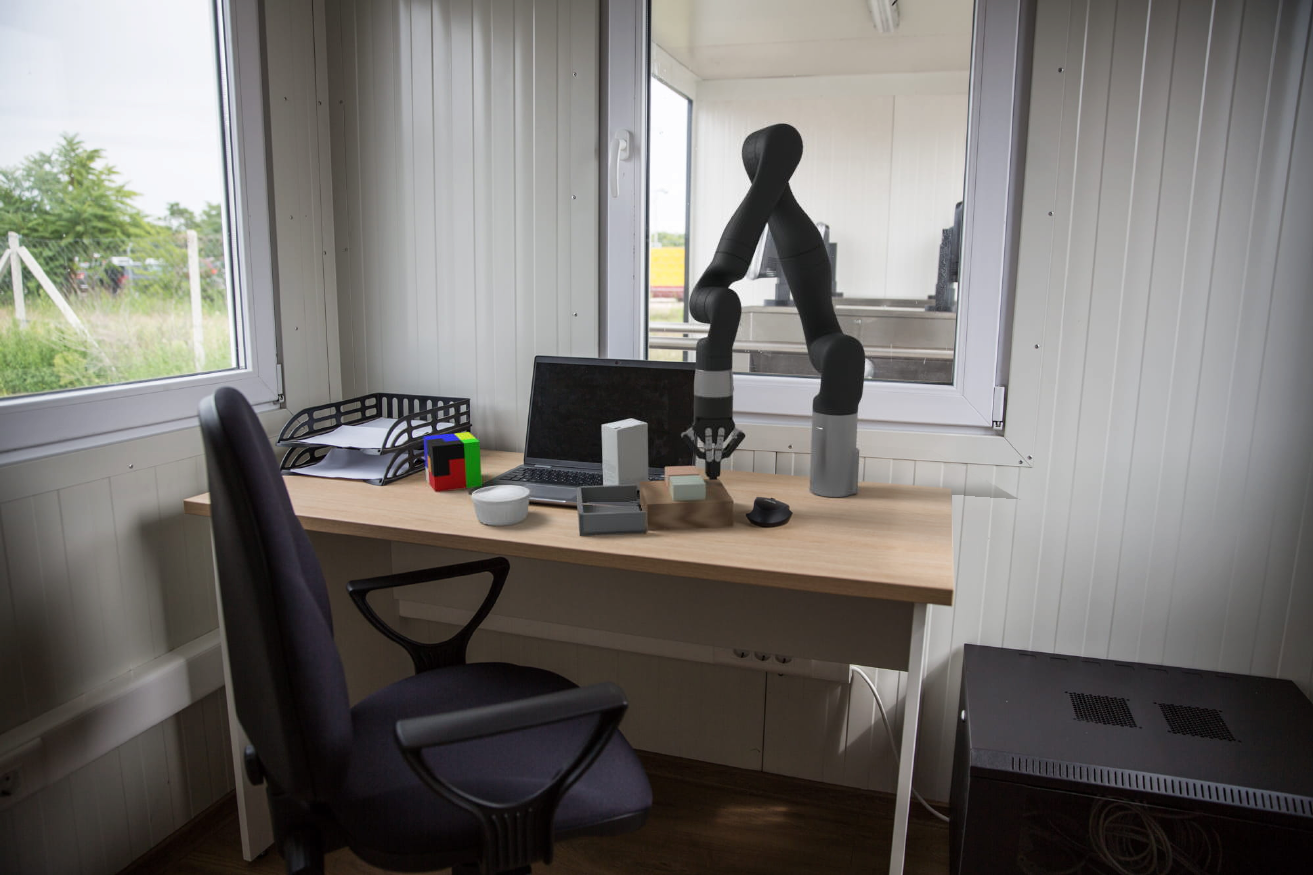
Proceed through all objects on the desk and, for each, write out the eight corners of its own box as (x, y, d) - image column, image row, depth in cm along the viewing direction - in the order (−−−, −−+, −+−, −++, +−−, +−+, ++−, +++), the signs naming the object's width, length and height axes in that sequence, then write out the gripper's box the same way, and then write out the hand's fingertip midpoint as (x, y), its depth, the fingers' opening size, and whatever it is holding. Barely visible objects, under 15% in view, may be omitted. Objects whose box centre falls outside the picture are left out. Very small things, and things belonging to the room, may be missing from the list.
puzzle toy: (426, 480, 194) (423, 436, 192) (471, 475, 198) (468, 432, 196) (435, 492, 185) (432, 446, 183) (481, 486, 189) (479, 441, 187)
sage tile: (700, 490, 168) (700, 475, 167) (705, 499, 162) (705, 484, 161) (669, 491, 167) (669, 476, 166) (673, 500, 161) (673, 485, 161)
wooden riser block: (718, 502, 177) (718, 478, 176) (733, 526, 162) (733, 500, 161) (639, 505, 175) (639, 481, 174) (647, 530, 161) (647, 504, 159)
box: (636, 503, 176) (636, 484, 176) (645, 533, 159) (645, 512, 158) (577, 505, 175) (576, 486, 174) (579, 535, 158) (579, 514, 157)
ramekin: (497, 506, 175) (496, 481, 174) (543, 514, 170) (542, 488, 169) (460, 522, 166) (458, 496, 164) (507, 532, 160) (506, 504, 159)
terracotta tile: (694, 480, 175) (694, 465, 174) (699, 488, 169) (699, 473, 168) (664, 481, 174) (664, 466, 173) (668, 489, 168) (668, 474, 167)
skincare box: (632, 484, 190) (631, 417, 186) (650, 490, 185) (649, 422, 182) (601, 491, 185) (599, 422, 181) (618, 498, 180) (617, 427, 177)
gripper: (743, 387, 172) (741, 472, 176) (676, 389, 171) (676, 474, 175) (751, 394, 165) (749, 482, 169) (682, 396, 163) (682, 485, 167)
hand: (712, 478), depth 172 cm, fingers closed
